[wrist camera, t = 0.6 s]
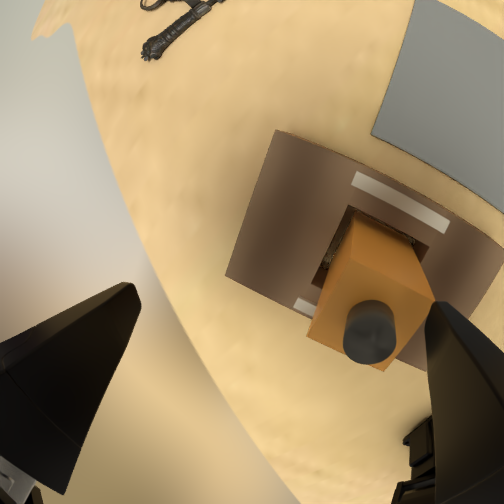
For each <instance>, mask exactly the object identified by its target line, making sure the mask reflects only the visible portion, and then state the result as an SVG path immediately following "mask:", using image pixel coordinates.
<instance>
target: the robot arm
mask: <svg viewBox="0 0 504 504" xmlns="http://www.w3.org/2000/svg"><path fill="white" fill-rule="evenodd" d="M140 311H141V301H140V298H139V296H138V293H137V290H136V287H135V285H134V284H133V283H128V282H121V283H119V284H117V285H115V286H113V287H111V288H109V289H107V290H105V291H103V292H101V293H98V294H96V295H94V296H92V297H90V298H88V299H86V300H85V301H83V302H80V303H78V304H76V305H75V306H72V307H71V308H69V309H67V310H65V311H63V312H61V313H59V314H57V315H55V316H53V317H51V318H49V319H47V320H46V321H43V322H41V323H39V324H37V325H36V326H34V327H32V328H30V329H28V330H26V331H24V332H22V333H20V334H18V335H16V336H14V337H12V338H10V339H8V340H5V341H3V342H1V343H0V504H43V500H42V496H41V492H40V489H39V488H38V487H37V486H35V483H36V481H39V482H40V483H42V484H43V485H45V486H47V487H49V488H50V489H52V490H54V491H56V492H58V493H59V494H61V495H64V493H65V492H66V489H67V486H68V483H69V481H70V478H71V475H72V472H73V470H74V467H75V464H76V462H77V458H78V456H79V454H80V451H81V447H82V446H83V443H84V441H85V438H86V436H87V433H88V431H89V429H90V426H91V424H92V421H93V419H94V417H95V414H96V412H97V410H98V408H99V405H100V403H101V401H102V398H103V396H104V394H105V392H106V390H107V387H108V385H109V383H110V381H111V379H112V377H113V374H114V372H115V370H116V368H117V366H118V364H119V362H120V360H121V358H122V356H123V354H124V351H125V349H126V347H127V345H128V342H129V340H130V337H131V334H132V332H133V329H134V326H135V324H136V321H137V319H138V316H139V314H140ZM424 333H425V344H426V357H427V374H428V383H429V390H430V398H431V406H432V416H431V417H430V418H429V419H428V420H426V421H425V422H424V423H423V424H422V425H421V426H419V427H418V428H417V429H416V430H414V431H413V432H412V433H411V434H409V435H408V436H407V437H406V438H404V439H403V445H406V446H410V459H409V465H410V467H412V470H411V480H409V481H405V482H404V481H402V482H398V483H397V487H396V489H395V492H394V495H393V499H392V502H391V504H504V353H503V352H502V351H501V350H500V349H499V348H498V347H497V346H496V345H495V344H494V343H493V342H492V341H491V340H490V339H489V338H488V337H487V336H485V335H484V334H483V333H482V332H481V331H480V330H479V329H478V328H477V327H476V326H475V325H473V324H472V323H471V322H470V321H469V320H468V319H467V318H466V317H464V316H463V315H462V314H461V313H460V312H459V311H458V310H456V309H455V308H454V307H453V306H452V305H451V304H449V303H448V302H447V301H434V302H433V303H432V305H431V308H430V311H429V313H428V316H427V319H426V322H425V326H424Z"/></svg>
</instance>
